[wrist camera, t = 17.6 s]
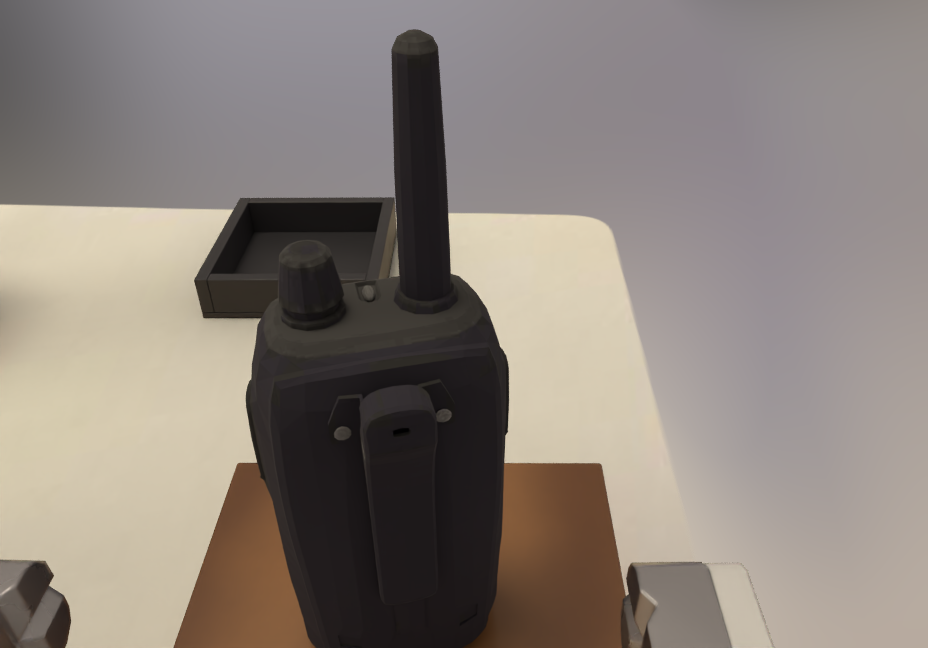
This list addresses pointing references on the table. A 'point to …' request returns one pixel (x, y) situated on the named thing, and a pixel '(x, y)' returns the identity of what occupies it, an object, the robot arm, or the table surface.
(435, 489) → the two-way radio
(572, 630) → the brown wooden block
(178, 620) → the table surface
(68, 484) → the table surface
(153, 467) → the table surface
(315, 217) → the tray
